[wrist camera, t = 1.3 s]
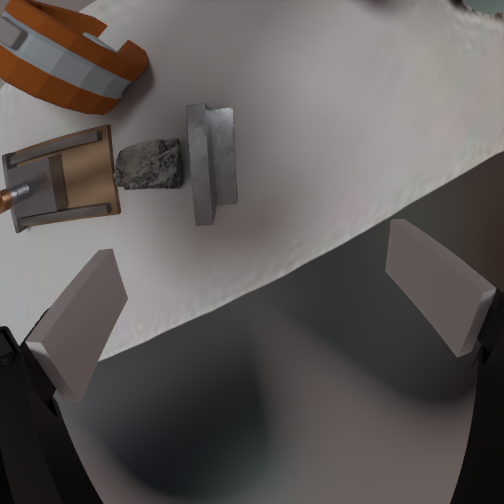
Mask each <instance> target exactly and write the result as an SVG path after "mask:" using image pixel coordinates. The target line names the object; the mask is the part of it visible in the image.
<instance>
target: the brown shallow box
mask: <svg viewBox="0 0 504 504" xmlns="http://www.w3.org/2000/svg"><path fill="white" fill-rule="evenodd" d="M58 154H60V155H61V163H62V171H63V178H64V184H65V190H66V196H67V201H68V205H66V206H65V207H63V208H61V209H59V210H58V211H54V212H48V213H42V214H37V215H32V216H26V217H21V218H16V217H15V213H14V208H13V206H12V207H11V208H10V209H11V214H12V218H13V222H14V226H15V230H16V233H20V232H21V231H23V230H24V229H26V228H27V227H30V226H36V225H42V224H49V223H55V222H62V221H69V220H76V219H84V218H92V217H99V216H108V215H116V214H119V213H120V212H121V209H120V203H119V197H118V190H117V186H115V180H114V177H113V174H114V173H115V168H114V159H113V150H112V140H111V128H110V125H104V126H99V127H95V128H91V129H87V130H83V131H79V132H76V133H72V134H68V135H65V136H61V137H58V138H55V139H51V140H48V141H45V142H42V143H39V144H36V145H33V146H30V147H27V148H24V149H22V150H19V151H16V152H13V153H9V154H5V155H2V162H3V170H4V177H5V183H6V189H9V182H8V175H7V170H9V169H12V168H15V167H18V166H21V165H24V164H27V163H30V162H34V161H37V160H40V159H44V158H47V157H51V156H55V155H58Z"/></svg>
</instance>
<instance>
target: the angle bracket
mask: <svg viewBox="0 0 504 504" xmlns="http://www.w3.org/2000/svg"><path fill="white" fill-rule="evenodd" d="M186 108H187V126H188V141H189V155H190V167H191V179H192V190H193V200H194V210H195V220H196V226H202V225H213V222H214V217H215V212H216V206H217V205H222V204H237V189H236V170H235V151H234V131H233V109H232V108H221V109H210V108H209V107H208V106H206V105H205V104H197V105H188V106H186Z"/></svg>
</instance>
